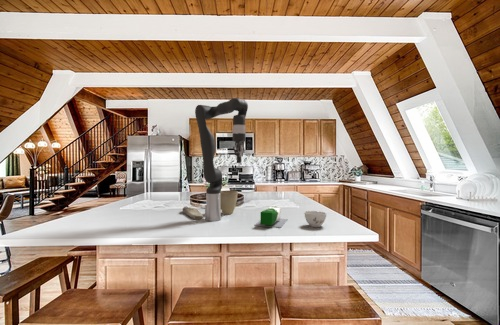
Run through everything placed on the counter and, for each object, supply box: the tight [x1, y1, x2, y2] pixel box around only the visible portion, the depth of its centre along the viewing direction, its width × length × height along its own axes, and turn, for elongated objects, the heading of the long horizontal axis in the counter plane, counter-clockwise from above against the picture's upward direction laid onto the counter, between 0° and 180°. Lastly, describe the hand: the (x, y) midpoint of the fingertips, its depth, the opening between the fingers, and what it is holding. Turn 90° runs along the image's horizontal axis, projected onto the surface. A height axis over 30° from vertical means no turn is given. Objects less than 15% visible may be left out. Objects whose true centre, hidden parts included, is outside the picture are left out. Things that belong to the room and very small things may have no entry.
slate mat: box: [254, 218, 288, 229], centre depth 163 cm, size 16×22×1 cm
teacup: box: [303, 210, 327, 228], centre depth 155 cm, size 15×12×8 cm
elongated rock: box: [182, 206, 204, 221], centre depth 186 cm, size 35×5×10 cm
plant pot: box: [221, 190, 239, 215], centre depth 192 cm, size 15×15×16 cm
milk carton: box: [260, 206, 282, 225], centre depth 160 cm, size 9×9×20 cm
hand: (238, 163), depth 153 cm, fingers closed
